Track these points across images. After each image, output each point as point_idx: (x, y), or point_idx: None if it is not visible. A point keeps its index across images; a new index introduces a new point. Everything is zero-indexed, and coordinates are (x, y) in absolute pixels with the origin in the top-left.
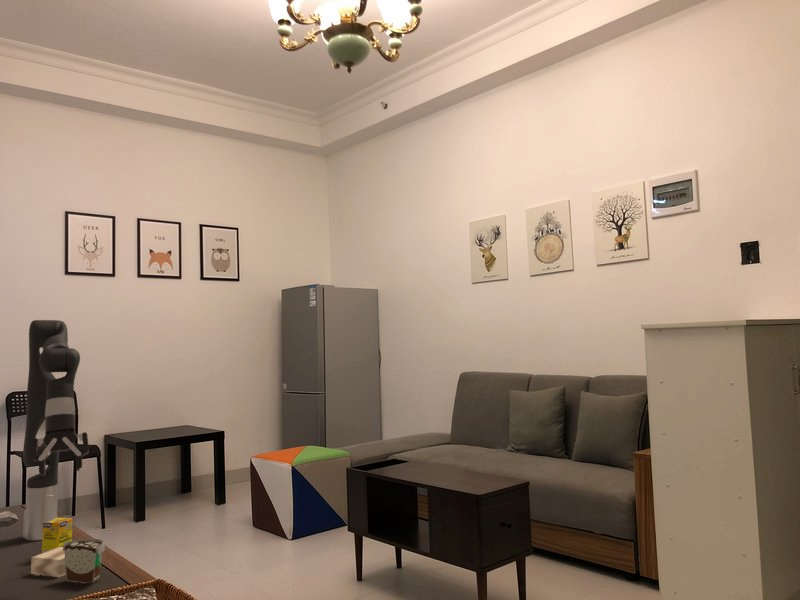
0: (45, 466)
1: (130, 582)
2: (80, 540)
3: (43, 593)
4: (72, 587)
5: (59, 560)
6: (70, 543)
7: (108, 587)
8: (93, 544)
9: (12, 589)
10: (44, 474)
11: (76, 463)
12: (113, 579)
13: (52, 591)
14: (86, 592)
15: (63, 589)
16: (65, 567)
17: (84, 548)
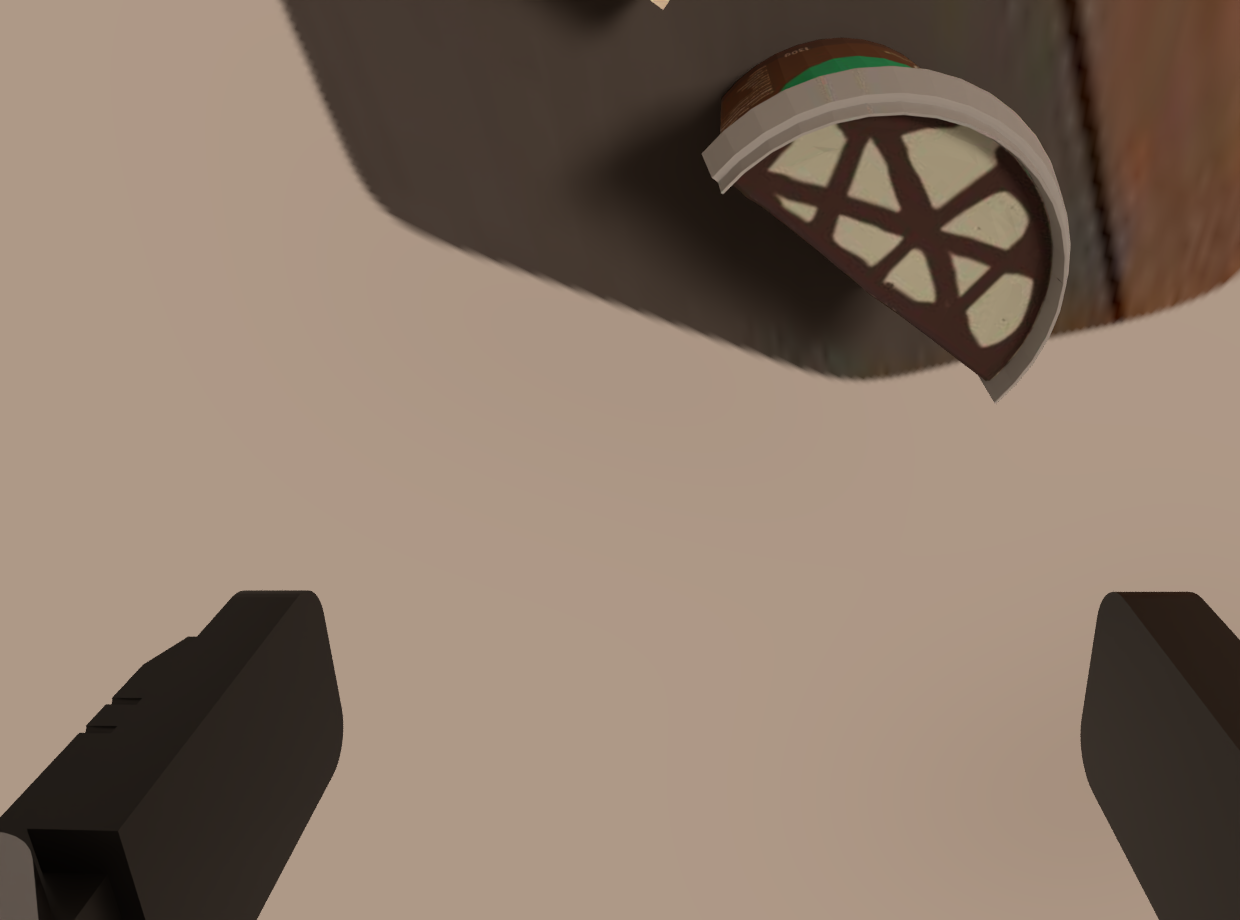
0: (205, 728)
1: (1131, 297)
2: (867, 115)
3: (613, 304)
4: (777, 258)
5: (657, 4)
6: (772, 145)
7: None
8: (978, 230)
9: (380, 148)
10: (341, 726)
11: (1163, 902)
12: None
13: (662, 288)
14: (862, 376)
15: (724, 275)
16: (721, 127)
17: (896, 310)
